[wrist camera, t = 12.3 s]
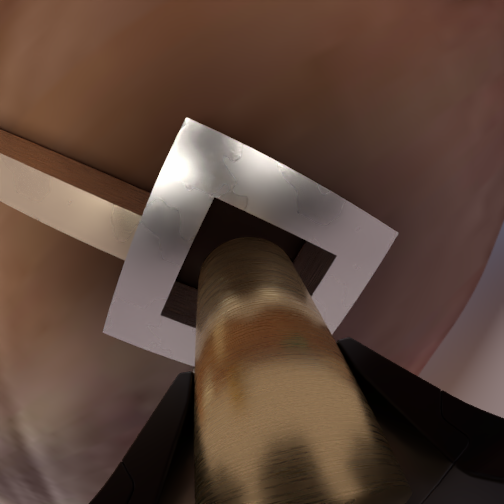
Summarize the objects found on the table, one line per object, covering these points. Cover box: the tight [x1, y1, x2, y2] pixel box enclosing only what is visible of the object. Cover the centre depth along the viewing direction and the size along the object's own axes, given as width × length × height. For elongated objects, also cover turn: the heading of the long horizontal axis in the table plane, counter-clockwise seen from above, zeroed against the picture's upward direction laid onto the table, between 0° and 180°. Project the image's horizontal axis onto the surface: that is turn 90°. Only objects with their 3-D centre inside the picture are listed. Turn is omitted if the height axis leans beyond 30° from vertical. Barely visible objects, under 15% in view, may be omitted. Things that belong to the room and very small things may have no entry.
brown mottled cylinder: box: [194, 237, 412, 504], centre depth 8 cm, size 4×4×10 cm
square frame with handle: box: [0, 117, 398, 367], centre depth 13 cm, size 10×22×4 cm, turn 62°
